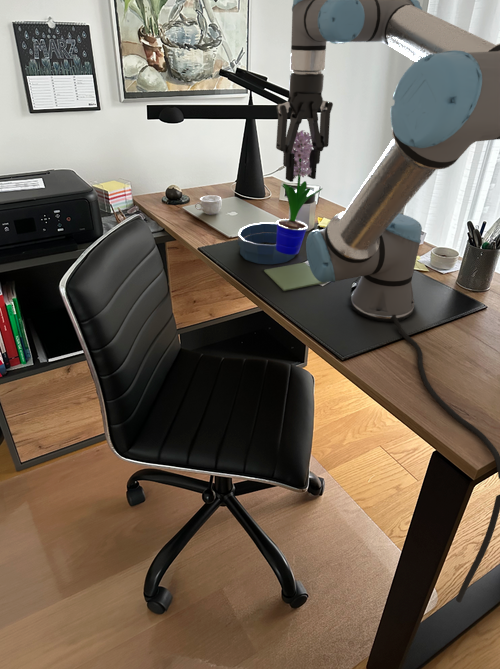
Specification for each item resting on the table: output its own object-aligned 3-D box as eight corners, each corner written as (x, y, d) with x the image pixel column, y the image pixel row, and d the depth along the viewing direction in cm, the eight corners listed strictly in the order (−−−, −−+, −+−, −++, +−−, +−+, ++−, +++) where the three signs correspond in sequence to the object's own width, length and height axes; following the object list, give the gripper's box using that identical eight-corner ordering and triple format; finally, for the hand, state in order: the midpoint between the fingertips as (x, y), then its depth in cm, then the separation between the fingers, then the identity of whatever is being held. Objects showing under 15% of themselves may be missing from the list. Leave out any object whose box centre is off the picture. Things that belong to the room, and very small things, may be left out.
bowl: (307, 259, 142) (309, 239, 139) (252, 269, 136) (252, 249, 133) (281, 237, 156) (282, 219, 153) (230, 246, 150) (229, 227, 147)
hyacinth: (307, 260, 123) (332, 137, 108) (268, 252, 124) (288, 129, 109) (310, 249, 130) (334, 133, 116) (274, 242, 132) (293, 126, 117)
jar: (284, 225, 166) (285, 190, 159) (303, 221, 169) (306, 187, 162) (298, 233, 159) (300, 198, 152) (318, 229, 162) (321, 194, 156)
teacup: (218, 208, 180) (217, 194, 177) (224, 214, 174) (224, 200, 172) (192, 211, 177) (191, 197, 174) (198, 218, 171) (197, 203, 168)
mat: (326, 282, 129) (327, 281, 129) (284, 291, 125) (284, 289, 125) (304, 263, 139) (304, 262, 139) (264, 271, 135) (264, 269, 135)
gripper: (334, 69, 111) (325, 171, 123) (261, 72, 105) (260, 178, 117) (352, 72, 105) (340, 178, 118) (276, 75, 99) (273, 187, 112)
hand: (300, 178), depth 117 cm, fingers closed on hyacinth, 5 cm apart
